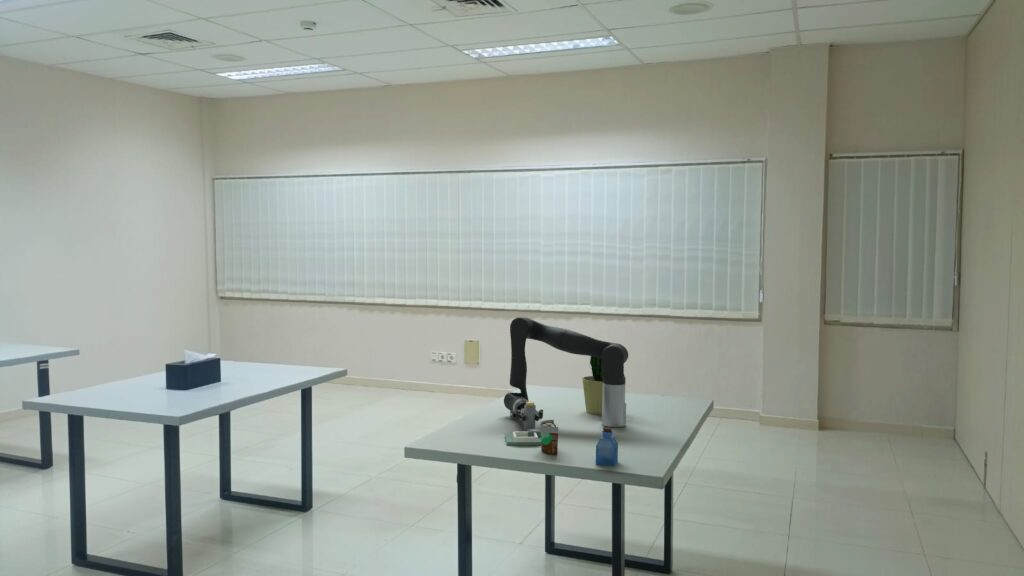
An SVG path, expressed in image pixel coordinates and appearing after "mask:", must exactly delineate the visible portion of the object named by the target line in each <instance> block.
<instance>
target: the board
mask: <svg viewBox="0 0 1024 576" xmlns="http://www.w3.org/2000/svg"><path fill="white" fill-rule="evenodd" d="M504 439H505V443H506V444H505V445H506V446H541V432H540V430H539V428H535V429H527V432H524V431H512V433H504Z"/></svg>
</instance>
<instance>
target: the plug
mask: <svg viewBox="0 0 1024 576" xmlns="http://www.w3.org/2000/svg"><path fill="white" fill-rule="evenodd" d="M536 410H537V407H536V405H535V402H534V401H529V402H526V405H524V415H525V416H526V421H523V432H527V429H536V422H537V421H536Z"/></svg>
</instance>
